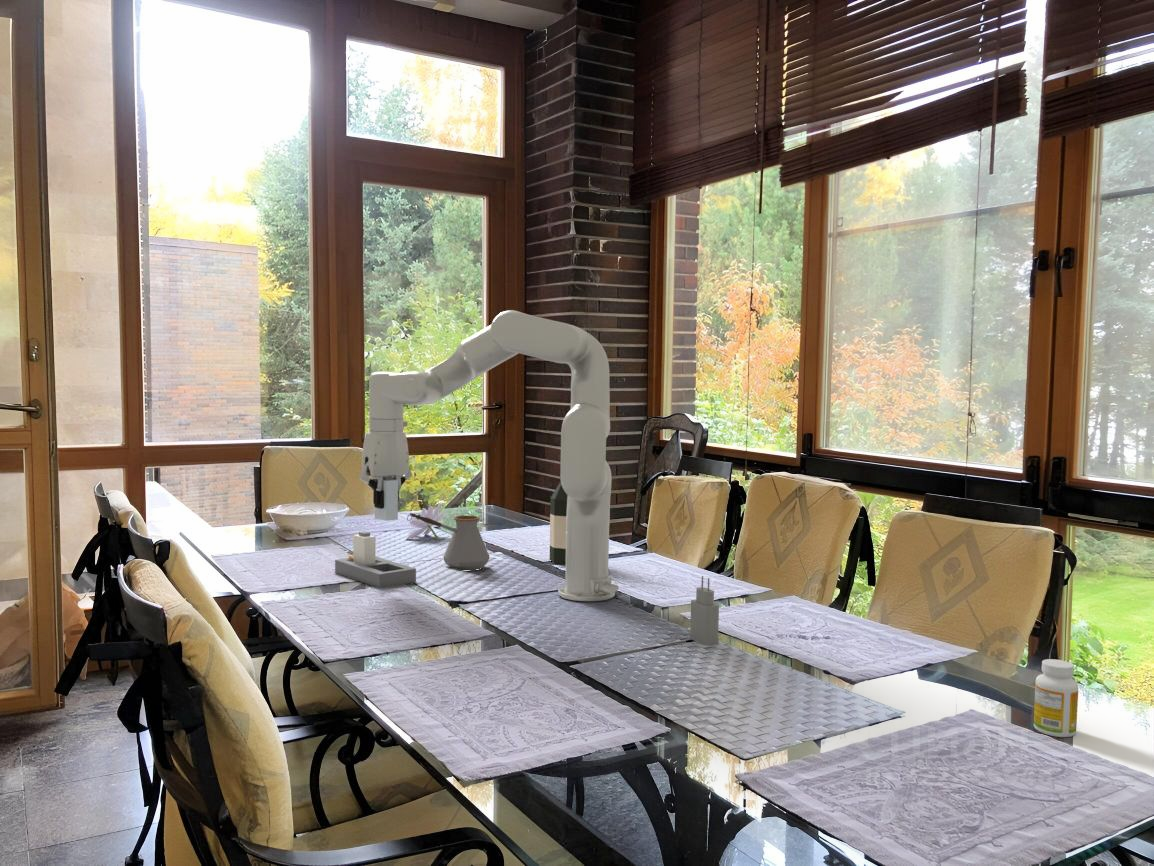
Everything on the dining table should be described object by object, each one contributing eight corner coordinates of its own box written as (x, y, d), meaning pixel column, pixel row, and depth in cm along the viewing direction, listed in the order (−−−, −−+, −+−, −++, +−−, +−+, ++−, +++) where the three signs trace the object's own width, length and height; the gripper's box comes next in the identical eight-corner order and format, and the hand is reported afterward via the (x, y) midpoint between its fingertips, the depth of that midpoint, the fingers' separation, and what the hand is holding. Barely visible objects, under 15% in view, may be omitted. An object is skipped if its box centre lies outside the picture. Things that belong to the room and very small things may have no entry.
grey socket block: (415, 585, 210) (416, 566, 210) (379, 592, 204) (379, 571, 204) (370, 571, 225) (370, 552, 225) (335, 576, 218) (335, 557, 218)
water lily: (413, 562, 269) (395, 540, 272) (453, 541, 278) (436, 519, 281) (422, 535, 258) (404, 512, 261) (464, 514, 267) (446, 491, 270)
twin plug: (375, 574, 217) (375, 533, 216) (364, 576, 215) (364, 534, 214) (364, 570, 221) (364, 530, 220) (353, 572, 219) (353, 531, 218)
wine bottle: (581, 565, 236) (583, 448, 234) (548, 564, 236) (550, 448, 234) (581, 558, 244) (583, 445, 243) (550, 558, 245) (551, 445, 243)
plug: (397, 519, 209) (397, 476, 208) (386, 520, 207) (386, 477, 206) (386, 516, 213) (386, 474, 212) (374, 517, 211) (374, 475, 210)
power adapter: (706, 645, 168) (708, 580, 167) (688, 638, 173) (689, 574, 172) (719, 643, 169) (721, 579, 169) (701, 635, 174) (703, 573, 173)
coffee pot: (476, 562, 238) (477, 504, 237) (497, 570, 228) (498, 510, 227) (398, 570, 226) (398, 510, 225) (416, 579, 217) (417, 516, 216)
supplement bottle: (1062, 723, 133) (1066, 657, 132) (1084, 738, 127) (1088, 669, 127) (1025, 723, 133) (1029, 657, 132) (1046, 738, 127) (1049, 669, 127)
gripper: (408, 424, 217) (407, 502, 218) (345, 426, 206) (345, 508, 207) (426, 426, 211) (425, 505, 213) (362, 428, 200) (362, 512, 201)
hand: (386, 506), depth 210 cm, fingers closed on plug, 3 cm apart
